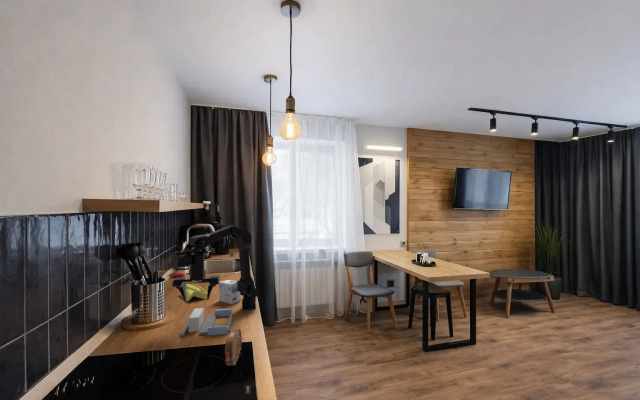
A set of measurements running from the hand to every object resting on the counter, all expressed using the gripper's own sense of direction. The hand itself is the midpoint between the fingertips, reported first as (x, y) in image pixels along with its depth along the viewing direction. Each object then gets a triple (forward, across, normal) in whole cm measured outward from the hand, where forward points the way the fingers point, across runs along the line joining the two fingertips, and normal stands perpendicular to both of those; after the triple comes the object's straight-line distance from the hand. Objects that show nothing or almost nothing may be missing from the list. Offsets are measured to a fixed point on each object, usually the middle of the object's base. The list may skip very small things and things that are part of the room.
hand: (196, 300), depth 128 cm
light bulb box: (+11, -11, -34) cm, 37 cm away
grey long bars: (+11, -5, 0) cm, 12 cm away
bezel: (+11, -10, 0) cm, 15 cm away
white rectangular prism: (+11, 0, 0) cm, 11 cm away
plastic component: (+11, +10, -48) cm, 50 cm away
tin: (+11, -18, +33) cm, 39 cm away
